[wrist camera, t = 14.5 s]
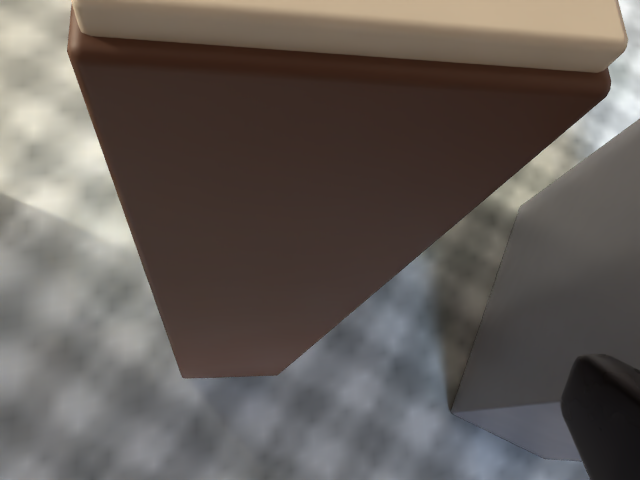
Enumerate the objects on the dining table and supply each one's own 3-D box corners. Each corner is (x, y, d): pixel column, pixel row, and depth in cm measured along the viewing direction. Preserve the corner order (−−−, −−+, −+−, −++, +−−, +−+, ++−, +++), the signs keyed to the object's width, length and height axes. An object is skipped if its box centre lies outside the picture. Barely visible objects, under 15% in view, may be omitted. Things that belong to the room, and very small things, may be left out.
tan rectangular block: (278, 376, 16) (650, 66, 3) (181, 379, 15) (49, 22, 2) (270, 109, 18) (439, -727, 5) (187, 105, 18) (143, -830, 5)
